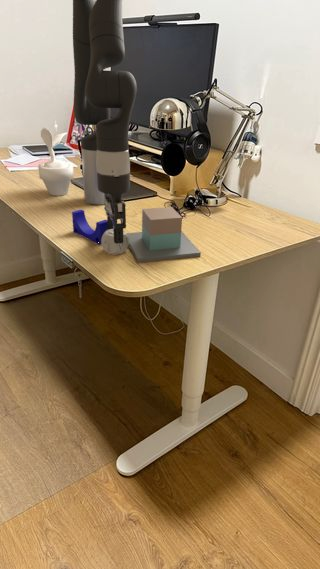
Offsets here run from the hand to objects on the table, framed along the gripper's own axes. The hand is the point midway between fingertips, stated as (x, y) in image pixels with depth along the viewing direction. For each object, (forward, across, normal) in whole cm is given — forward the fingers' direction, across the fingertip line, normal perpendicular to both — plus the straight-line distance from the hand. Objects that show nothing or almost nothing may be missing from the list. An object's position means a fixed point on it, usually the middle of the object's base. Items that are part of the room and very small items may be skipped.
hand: (115, 236), depth 98 cm
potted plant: (+4, -51, -10) cm, 52 cm away
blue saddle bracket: (+4, -11, -4) cm, 12 cm away
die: (+4, 0, 0) cm, 4 cm away
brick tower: (+4, 0, +12) cm, 13 cm away
